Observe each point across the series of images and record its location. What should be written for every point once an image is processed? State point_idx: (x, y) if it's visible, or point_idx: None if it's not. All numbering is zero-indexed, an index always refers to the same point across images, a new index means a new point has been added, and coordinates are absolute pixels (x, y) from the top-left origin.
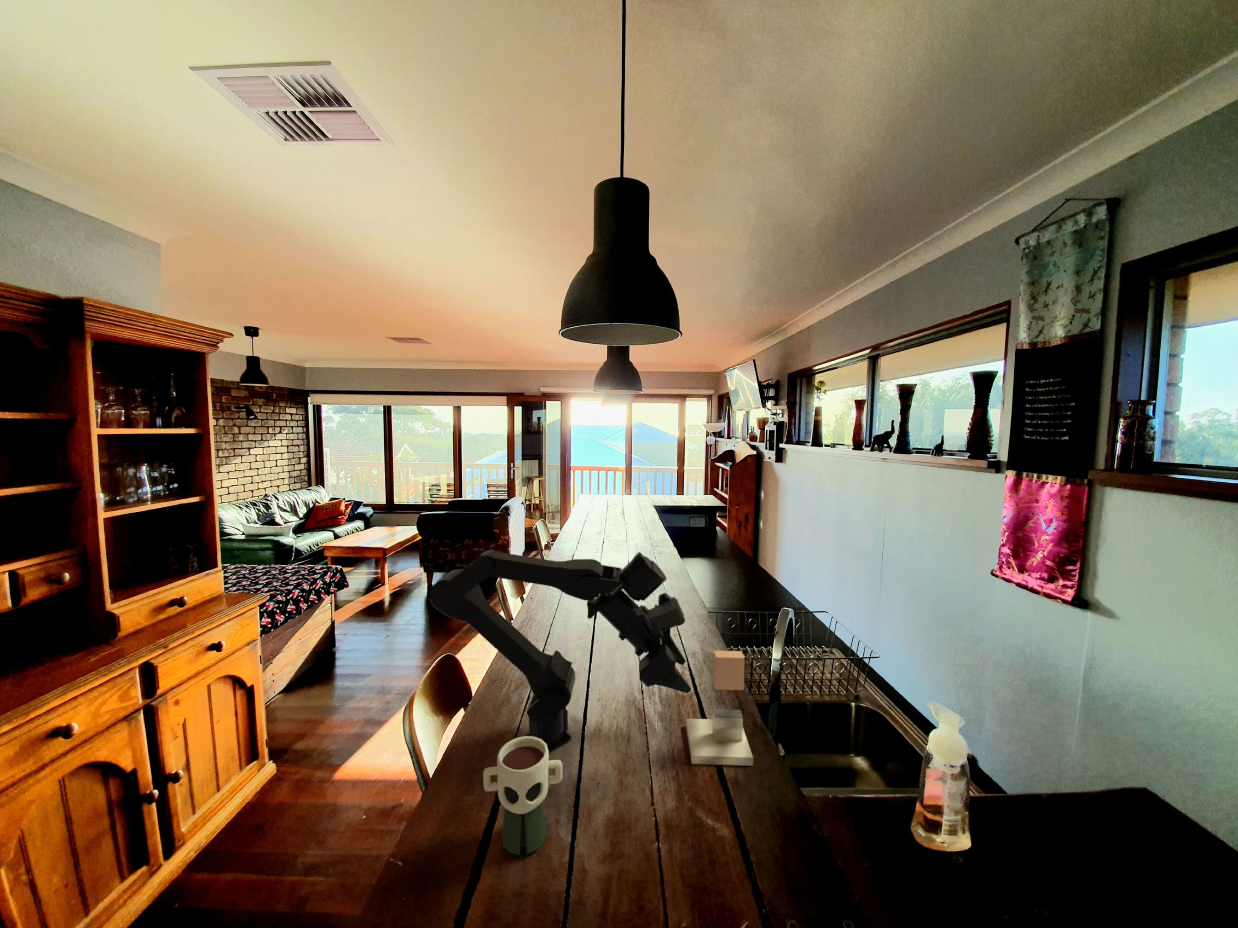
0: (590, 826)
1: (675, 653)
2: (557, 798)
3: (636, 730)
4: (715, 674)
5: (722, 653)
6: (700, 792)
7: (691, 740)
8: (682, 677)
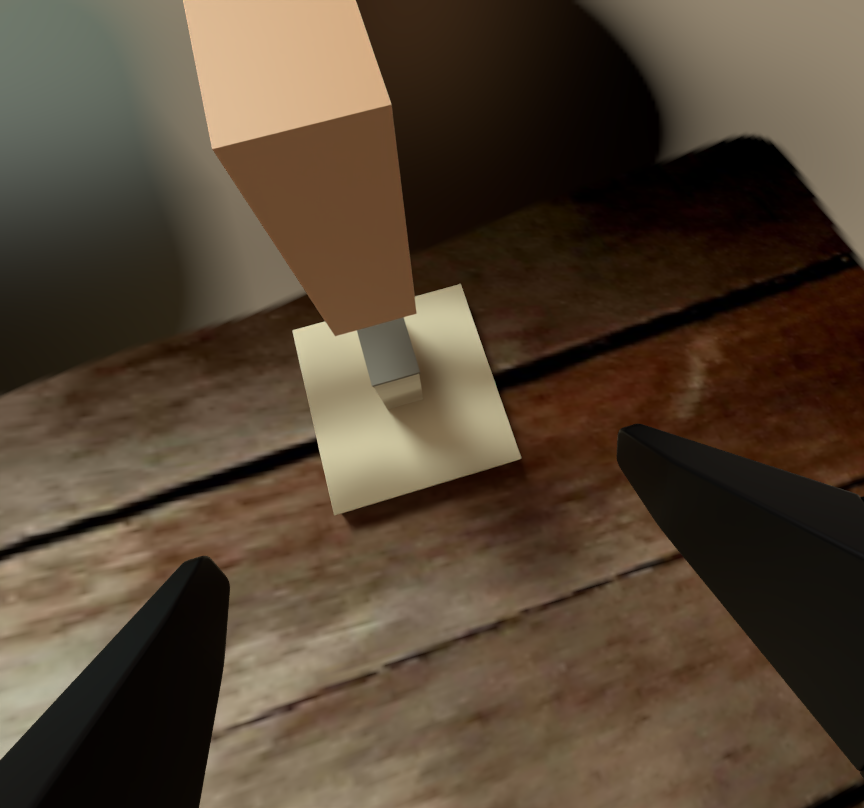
0: None
1: (156, 709)
2: None
3: (422, 700)
4: (391, 266)
5: (269, 56)
6: (614, 418)
7: (448, 473)
8: (803, 488)
